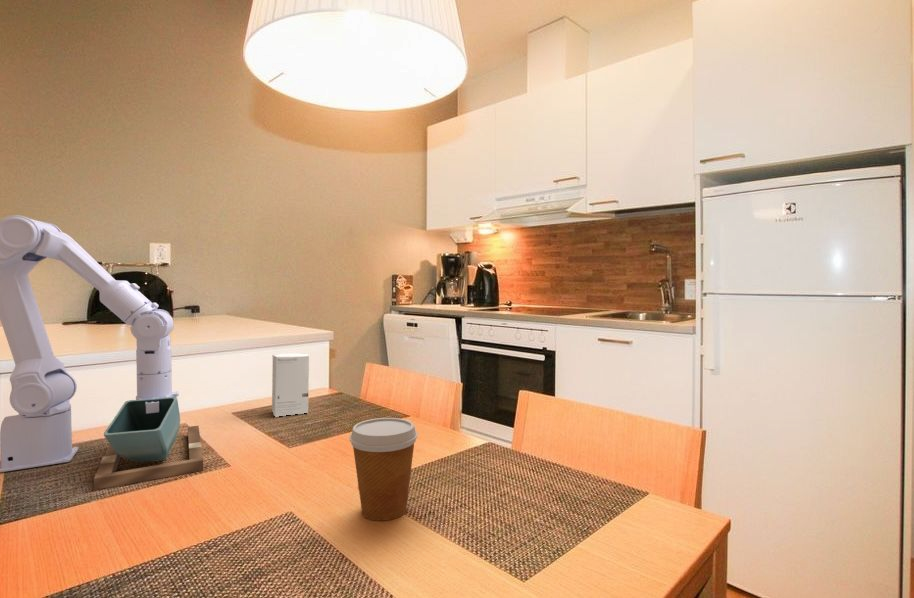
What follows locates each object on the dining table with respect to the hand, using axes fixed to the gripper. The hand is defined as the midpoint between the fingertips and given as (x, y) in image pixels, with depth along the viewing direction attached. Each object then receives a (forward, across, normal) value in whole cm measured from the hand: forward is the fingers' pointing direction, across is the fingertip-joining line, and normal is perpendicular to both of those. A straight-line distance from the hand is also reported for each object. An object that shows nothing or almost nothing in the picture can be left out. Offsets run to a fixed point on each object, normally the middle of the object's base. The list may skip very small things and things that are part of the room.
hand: (155, 441), depth 91 cm
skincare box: (+2, +14, -28) cm, 31 cm away
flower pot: (0, -6, 0) cm, 6 cm away
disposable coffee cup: (+2, -46, -30) cm, 55 cm away
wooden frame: (+2, -4, 0) cm, 5 cm away
